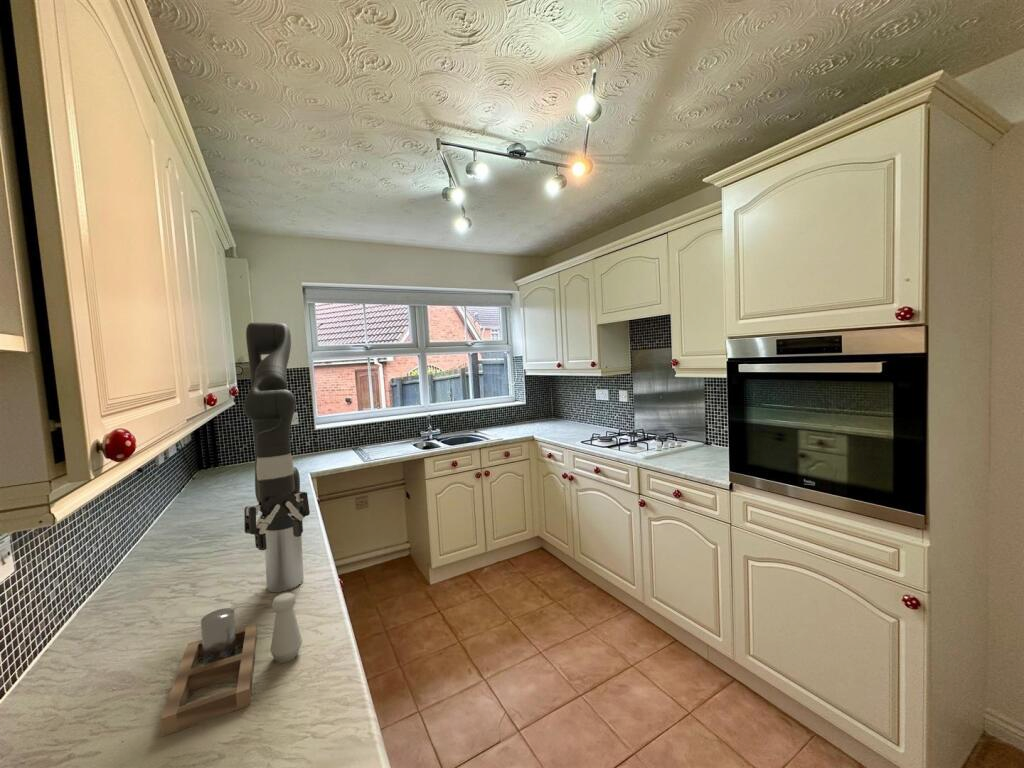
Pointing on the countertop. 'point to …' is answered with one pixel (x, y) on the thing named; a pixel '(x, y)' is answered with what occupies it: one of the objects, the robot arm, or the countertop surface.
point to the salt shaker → (285, 629)
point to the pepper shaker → (218, 635)
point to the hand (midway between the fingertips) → (280, 542)
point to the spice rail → (196, 677)
